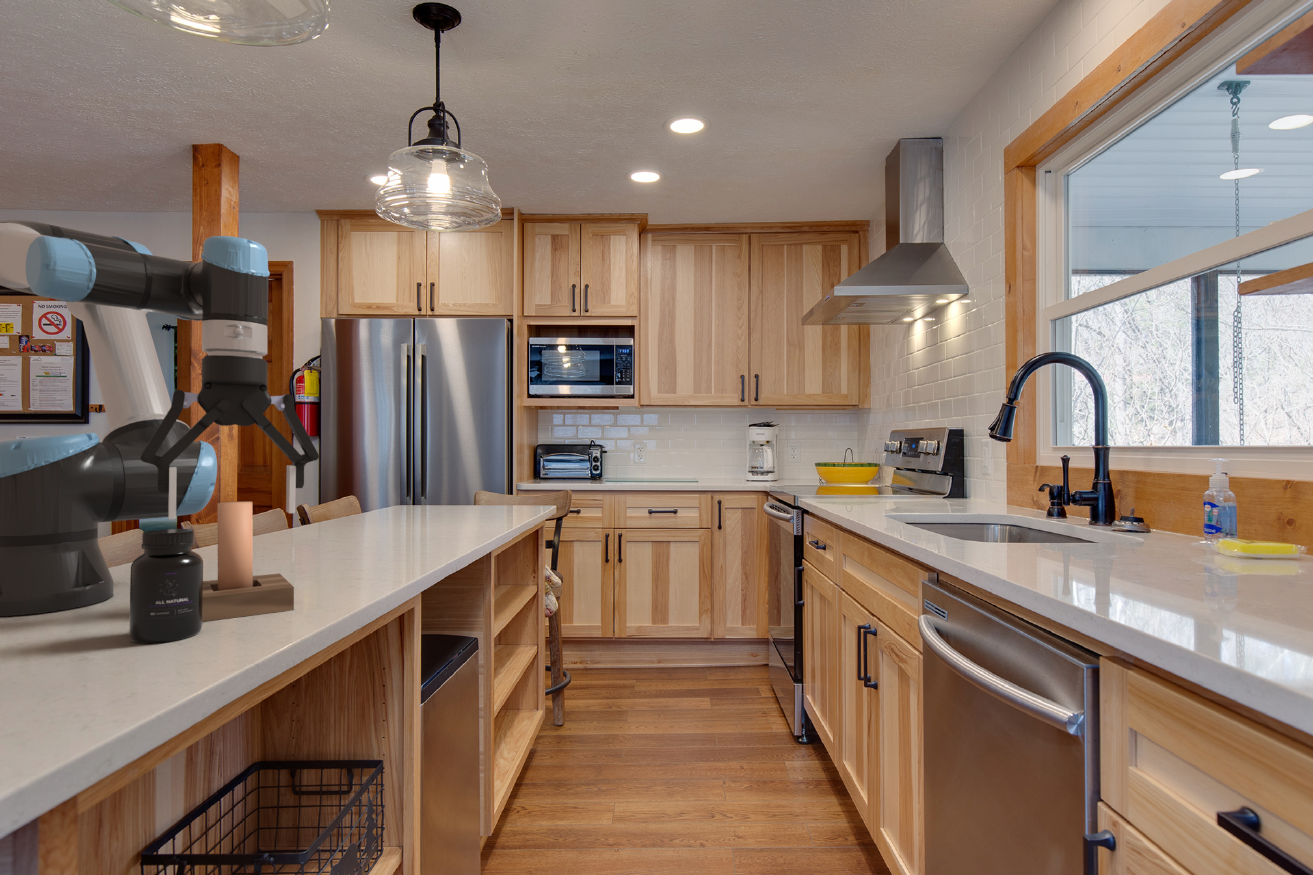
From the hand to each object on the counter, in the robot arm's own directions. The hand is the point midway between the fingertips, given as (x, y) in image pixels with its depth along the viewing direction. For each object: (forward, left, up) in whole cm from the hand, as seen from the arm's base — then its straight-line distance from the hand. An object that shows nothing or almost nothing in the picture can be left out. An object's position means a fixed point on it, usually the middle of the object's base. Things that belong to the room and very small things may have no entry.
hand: (233, 515), depth 94 cm
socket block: (0, 0, -12) cm, 12 cm away
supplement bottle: (+12, -8, -13) cm, 19 cm away
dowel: (0, 0, -12) cm, 12 cm away
